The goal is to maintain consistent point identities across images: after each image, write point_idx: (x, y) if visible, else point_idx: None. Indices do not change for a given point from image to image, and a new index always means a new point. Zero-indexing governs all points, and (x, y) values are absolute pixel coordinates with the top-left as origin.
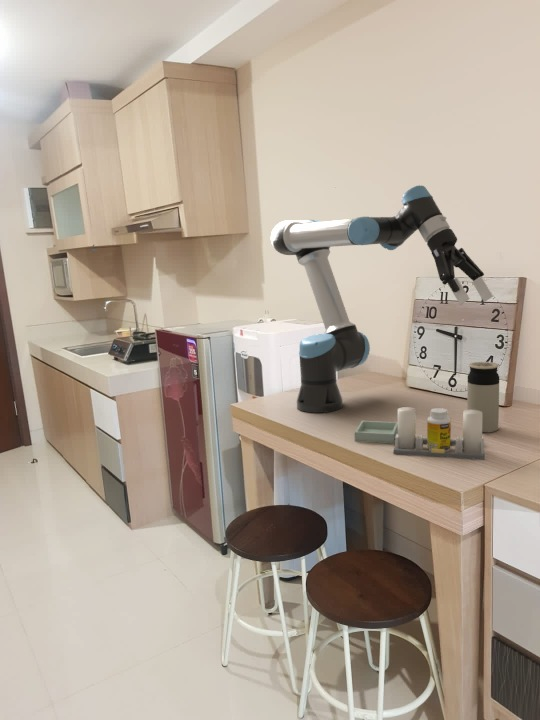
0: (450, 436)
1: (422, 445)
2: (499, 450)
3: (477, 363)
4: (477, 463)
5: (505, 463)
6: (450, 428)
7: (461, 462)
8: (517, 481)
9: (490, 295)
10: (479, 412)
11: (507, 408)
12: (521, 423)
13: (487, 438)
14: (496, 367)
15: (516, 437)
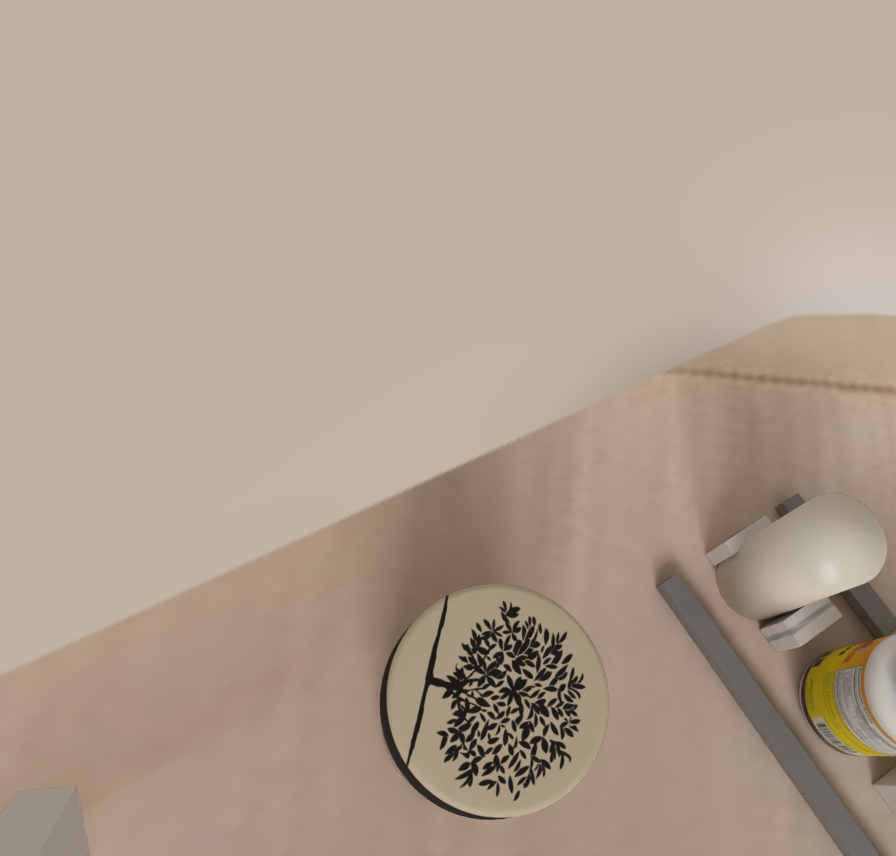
0: (845, 649)
1: (891, 774)
2: (660, 509)
3: (496, 754)
4: None
5: (758, 429)
6: (870, 641)
7: None
8: (856, 334)
9: (69, 822)
10: (817, 512)
11: None
12: (257, 616)
13: None
14: (496, 585)
15: (468, 535)
